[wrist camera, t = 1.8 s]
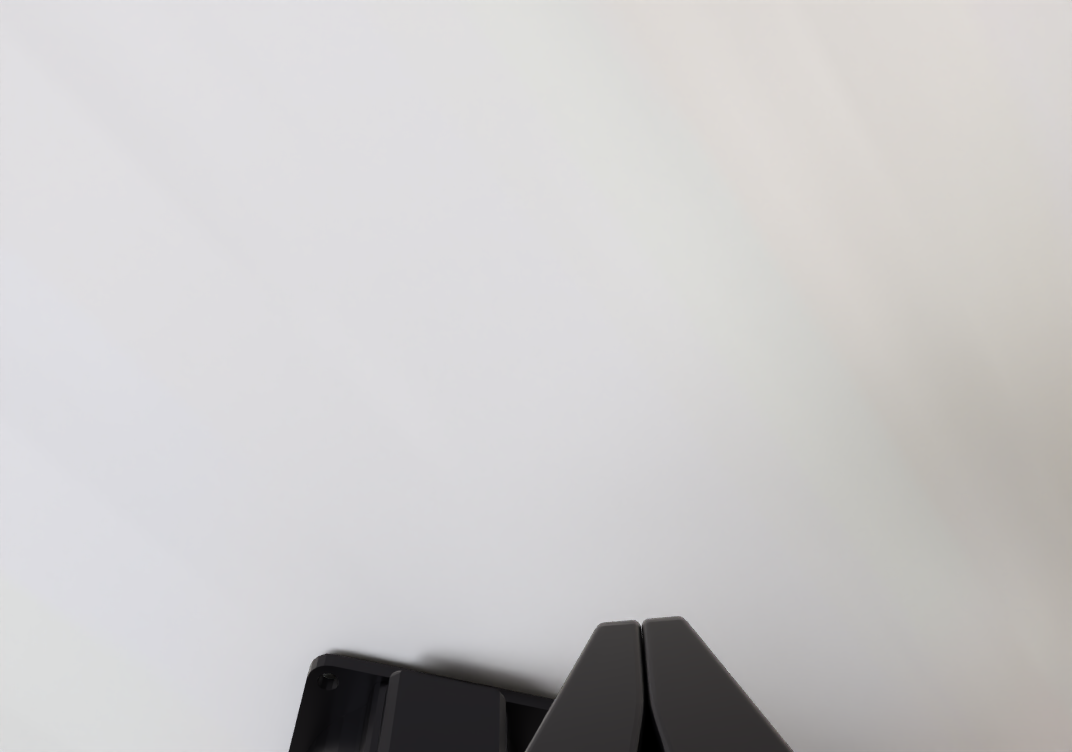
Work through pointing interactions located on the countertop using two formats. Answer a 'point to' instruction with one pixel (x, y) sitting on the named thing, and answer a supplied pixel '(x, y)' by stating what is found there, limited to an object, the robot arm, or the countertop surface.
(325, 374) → the countertop surface
